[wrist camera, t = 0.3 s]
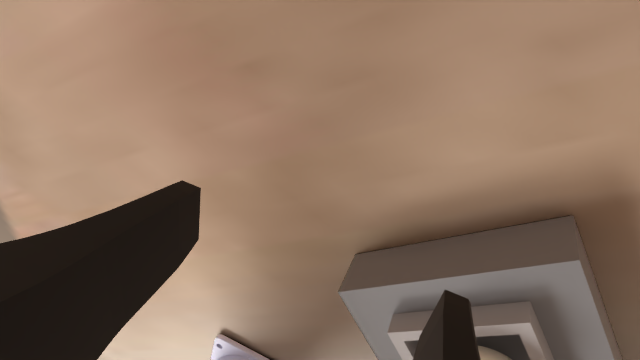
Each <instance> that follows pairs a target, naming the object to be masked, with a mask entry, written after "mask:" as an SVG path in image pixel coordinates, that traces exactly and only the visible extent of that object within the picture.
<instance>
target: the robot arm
mask: <svg viewBox="0 0 640 360" xmlns="http://www.w3.org/2000/svg"><path fill="white" fill-rule="evenodd" d="M200 191H201V188H199V187H197V186H194V185H192V184H189V183H187V182H185V181H180V182H177V183H175V184H172V185H170V186H167V187H165V188H163V189H160V190H158V191H156V192H153V193H151V194H149V195H146V196H144V197H142V198H139V199H137V200H134V201H132V202H129V203H127V204H124V205H122V206H120V207H117V208H115V209H112V210H110V211H107V212H104V213H101V214H99V215H96V216H93V217H90V218H87V219H85V220H82V221H79V222H76V223H74V224H71V225H68V226H64V227H61V228H58V229H55V230H52V231H48V232H44V233H41V234H37V235H34V236H30V237H26V238H22V239H18V240H13V241H9V242H5V243H0V360H97V359H98V358H99V356H100V355H101V354H102V352H103V351H104V350H105V349H106V347H107V346H108V345H109V343H110V342H111V341H112V339H113V338H114V337H115V336H116V335H117V333H118V332H119V331H120V330H121V329H122V328H123V326H124V325H125V324H126V323H127V322H128V321H129V320H130V319H131V318H132V317H133V316H134V315H135V314H136V312H137V311H138V310H139V309H140V308H141V307H142V306H143V305H144V304H145V303H146V302H147V301H148V300H149V299H150V298H151V296H152V295H153V294H154V293H155V292H156V291H157V290H158V289H159V288H160V287H161V286H162V285H163V284H164V283H165V281H166V280H167V279H168V278H169V277H170V276H171V275H172V274H173V273H174V272H175V271H176V269H177V268H178V267H179V266H180V265H181V263H182V262H183V261H184V259H185V258H186V256H187V255H188V254H189V252H190V251H191V249H192V248H193V247H194V245H195V244H196V242H197V241H198V239H199V215H200ZM210 360H269V359H268V358H266V357H264V356H262V355H260V354H258V353H256V352H254V351H252V350H251V349H249V348H247V347H245V346H243V345H241V344H239V343H237V342H235V341H234V340H232V339H230V338H228V337H226V336H224V335H222V334H218V335H217V336H216V338H215V340H214V345H213V350H212V354H211V359H210ZM413 360H481V359H480V355H479V350H478V345H477V340H476V335H475V330H474V324H473V318H472V311H471V303H470V301H469V299H467V298H465V297H462V296H460V295H458V294H455V293H453V292H450V291H448V290H444V292H443V294H442V296H441V298H440V300H439V301H438V303H437V305H436V307H435V309H434V311H433V312H432V314H431V316H430V318H429V320H428V322H427V324H426V325H425V327H424V329H423V331H422V333H421V335H420V337H419V340H418V343H417V347H416V350H415V354H414V357H413Z"/></svg>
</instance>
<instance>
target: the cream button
mask: <svg viewBox="0 0 640 360" xmlns="http://www.w3.org/2000/svg"><path fill="white" fill-rule="evenodd" d="M478 350H479V355H480V359H481V360H512V359H511V358H509V357H508V356H506V355H504V354H502V353H500V352H498V351H495V350H493V349H490V348H486V347H483V346H478Z"/></svg>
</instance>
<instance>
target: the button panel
mask: <svg viewBox="0 0 640 360" xmlns="http://www.w3.org/2000/svg"><path fill="white" fill-rule="evenodd" d="M444 290H448V291H450V292H453V293H455V294H458V295H460V296H462V297H465V298H467V299H469V301H470V303H471V311H472V318H473V324H474V330H475V335H476V340H477V345H478V346H483V347H486V348H490V349H493V350H495V351H498V352H500V353H502V354H504V355H506V356H508V357H509V358H511V359H512V360H623V359H622V356H621V353H620V350H619V348H618V345H617V342H616V339H615V336H614V333H613V330H612V327H611V324H610V321H609V318H608V315H607V312H606V310H605V307H604V304H603V301H602V298H601V295H600V292H599V289H598V286H597V283H596V280H595V277H594V274H593V271H592V269H591V266H590V263H589V260H588V257H587V254H586V251H585V248H584V245H583V242H582V239H581V236H580V233H579V231H578V228H577V225H576V222H575V219H574V216H573V215H572V216H566V217H560V218H555V219H549V220H544V221H538V222H533V223H527V224H522V225H516V226H511V227H505V228H500V229H494V230H488V231H483V232H477V233H472V234H466V235H461V236H455V237H450V238H444V239H439V240H433V241H427V242H422V243H416V244H411V245H405V246H400V247H394V248H389V249H383V250H378V251H372V252H367V253H361V254H355V256H354V258H353V261H352V263H351V265H350V267H349V269H348V271H347V274H346V276H345V278H344V280H343V282H342V284H341V287H340V289H339V291H338V293H339V295H340V297H341V298H342V300H343V302H344V303H345V305H346V307H347V308H348V310H349V312H350V313H351V315H352V317H353V318H354V320H355V322H356V323H357V325H358V327H359V328H360V330H361V332H362V333H363V335H364V337H365V339H366V340H367V342H368V344H369V345H370V347H371V349H372V350H373V352H374V354H375V355H376V357H377V359H378V360H413V357H414V354H415V350H416V347H417V343H418V340H419V337H420V335H421V333H422V331H423V329H424V327H425V325H426V324H427V322H428V320H429V318H430V316H431V314H432V312H433V311H434V309H435V307H436V305H437V303H438V301H439V300H440V298H441V296H442V294H443V292H444Z"/></svg>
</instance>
